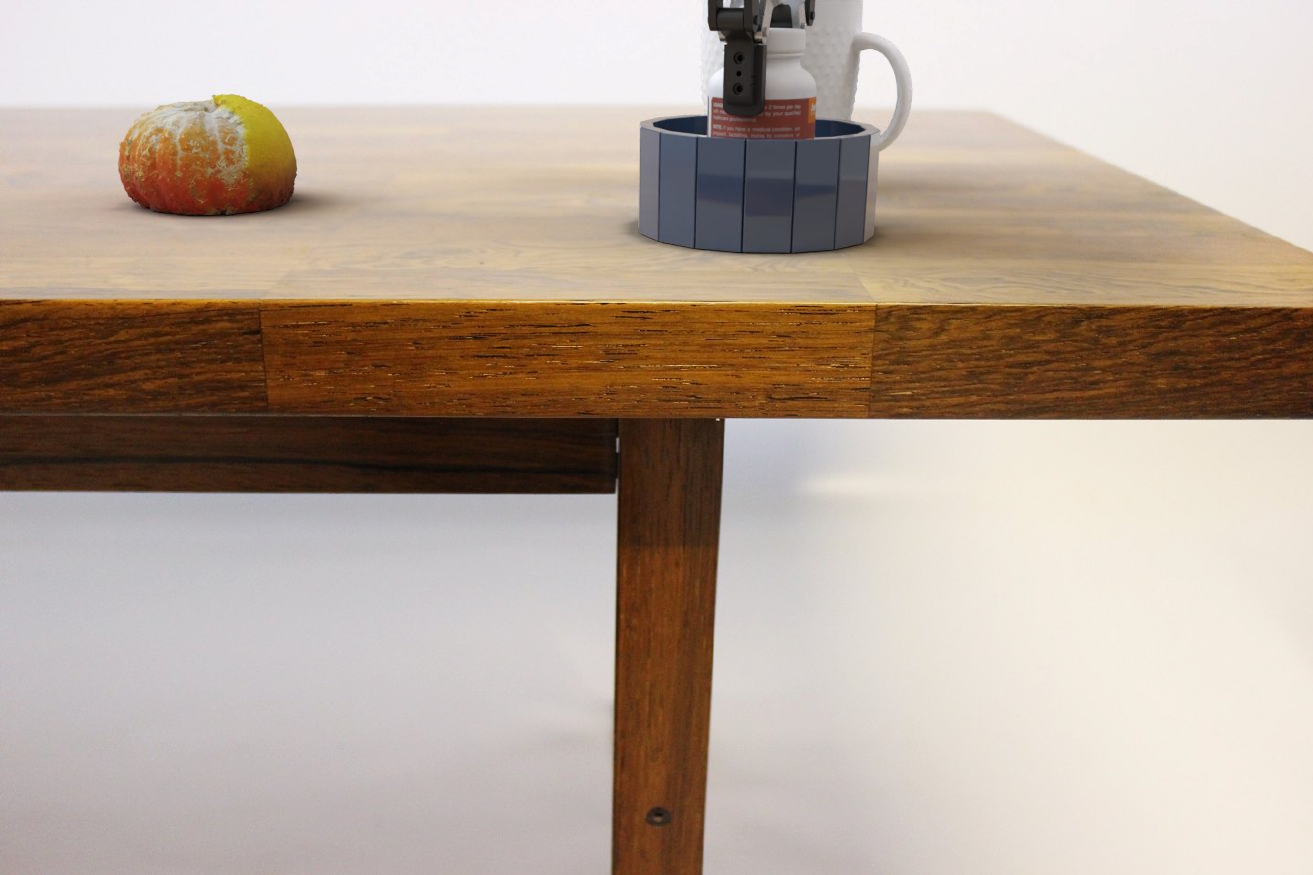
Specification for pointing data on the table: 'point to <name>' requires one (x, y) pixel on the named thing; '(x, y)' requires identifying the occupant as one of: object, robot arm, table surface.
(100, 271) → the table surface
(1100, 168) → the table surface
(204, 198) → the fruit
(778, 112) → the pill bottle
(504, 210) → the table surface
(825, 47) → the mug
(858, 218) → the pot
